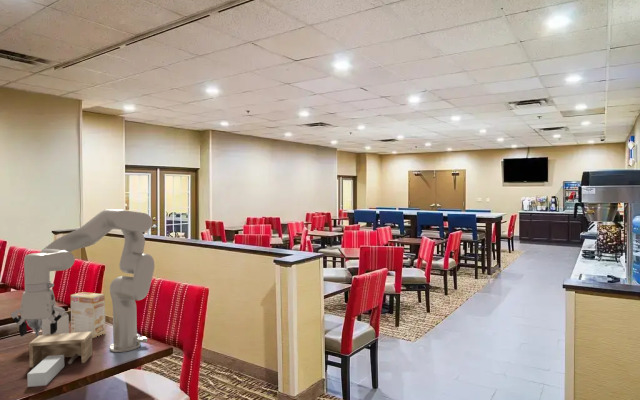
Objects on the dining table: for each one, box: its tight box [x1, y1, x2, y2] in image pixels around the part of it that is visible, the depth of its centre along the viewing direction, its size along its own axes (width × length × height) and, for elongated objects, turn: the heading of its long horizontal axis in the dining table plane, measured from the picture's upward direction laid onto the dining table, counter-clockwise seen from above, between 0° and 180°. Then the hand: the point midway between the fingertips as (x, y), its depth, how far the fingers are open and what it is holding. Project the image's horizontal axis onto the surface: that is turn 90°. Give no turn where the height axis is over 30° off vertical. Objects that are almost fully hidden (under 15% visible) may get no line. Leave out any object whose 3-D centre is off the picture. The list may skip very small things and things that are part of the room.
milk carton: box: [41, 311, 70, 335], centre depth 182 cm, size 7×7×19 cm
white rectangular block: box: [26, 355, 65, 388], centre depth 157 cm, size 6×16×5 cm, turn 11°
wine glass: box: [26, 319, 42, 348], centre depth 188 cm, size 8×8×15 cm
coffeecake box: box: [70, 291, 106, 339], centre depth 201 cm, size 15×7×20 cm, turn 69°
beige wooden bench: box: [28, 332, 93, 368], centre depth 171 cm, size 20×9×10 cm, turn 102°
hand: (38, 334), depth 151 cm, fingers open, 9 cm apart
